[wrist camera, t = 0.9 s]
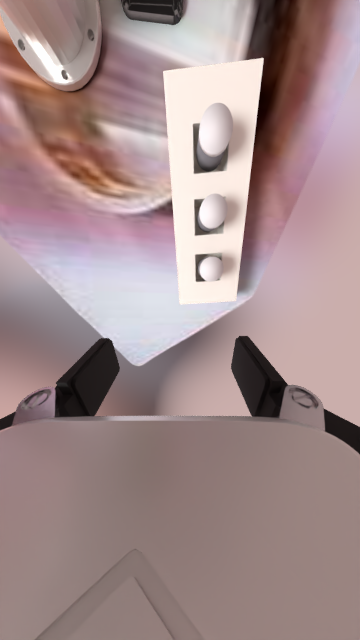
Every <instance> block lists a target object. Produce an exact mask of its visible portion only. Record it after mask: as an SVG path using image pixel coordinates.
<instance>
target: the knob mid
mask: <svg viewBox="0 0 360 640" xmlns="http://www.w3.org/2000/svg"><path fill="white" fill-rule="evenodd" d="M227 210H228V208H227V203H226V200H225V199H224V197H223V196H221V195H220V194H211V195H209V196H207V197H206V198H205V199H204V201H203V202H202V204H201V207H200V209H199V212H198V215H197V224H198V226H199V228H200V229H201V230H202V231H204V232H211V231H213V230H214V229H216V228H217V227H218V226H219V225H221V224H222V223H223V221H224V220H225V218H226V215H227Z"/></svg>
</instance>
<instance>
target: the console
mask: <svg viewBox="0 0 360 640" xmlns="http://www.w3.org/2000/svg"><path fill="white" fill-rule="evenodd" d="M263 59H264V58H260V59H253V60H245V61H237V62H229V63H222V64H214V65H206V66H198V67H191V68H183V69H175V70H167V71H163V75H164V89H165V103H166V117H167V131H168V145H169V159H170V174H171V188H172V202H173V216H174V230H175V244H176V258H177V272H178V287H179V301H180V304H195V303H211V302H228V301H236V297H237V288H238V279H239V270H240V261H241V253H242V244H243V235H244V226H245V217H246V209H247V200H248V191H249V182H250V173H251V165H252V156H253V147H254V138H255V129H256V121H257V112H258V103H259V94H260V85H261V77H262V68H263ZM214 103H223V104H225V105H226V106H227V107H228V108H229V110H230V112H231V114H232V118H233V131H232V135H231V138H230V141H229V143H228V146H227V148H226V150H225V153H224V155H223V158H222V160H221V162H220V164H219V166H218V167H217V168H216V169H215V170H213V171H209V172H208V171H204V170H202V169H201V168H200V166H199V165H198V162H197V158H196V150H197V143H198V136H199V128H200V122H201V119H202V116H203V114H204V112H205V111H206V109H207V108H208V107H209V106H210V105H212V104H214ZM211 194H220V195H221V196H223V197H224V199H225V200H226V203H227V208H228V210H227V215H226V218H225V220H224V221H223V223H222V224H221V225H219V226H218V227H217V228H216V229H214V230H213V231H211V232H204V231H202V230H201V229H200V228H199V226H198V224H197V215H198V212H199V209H200V207H201V204H202V202H203V201H204V199H205V198H206V197H207V196H209V195H211ZM204 257H217V258H219V259H220V260H221V261H222V263H223V266H224V270H223V273H222V275H221V277H220V278H219V279H217V280H216V281H212V282H209V281H206V280H204V279H203V278H202V277H201V276H200V274H199V273H198V269H197V267H198V263H199V261H200V260H201V259H202V258H204Z"/></svg>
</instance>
